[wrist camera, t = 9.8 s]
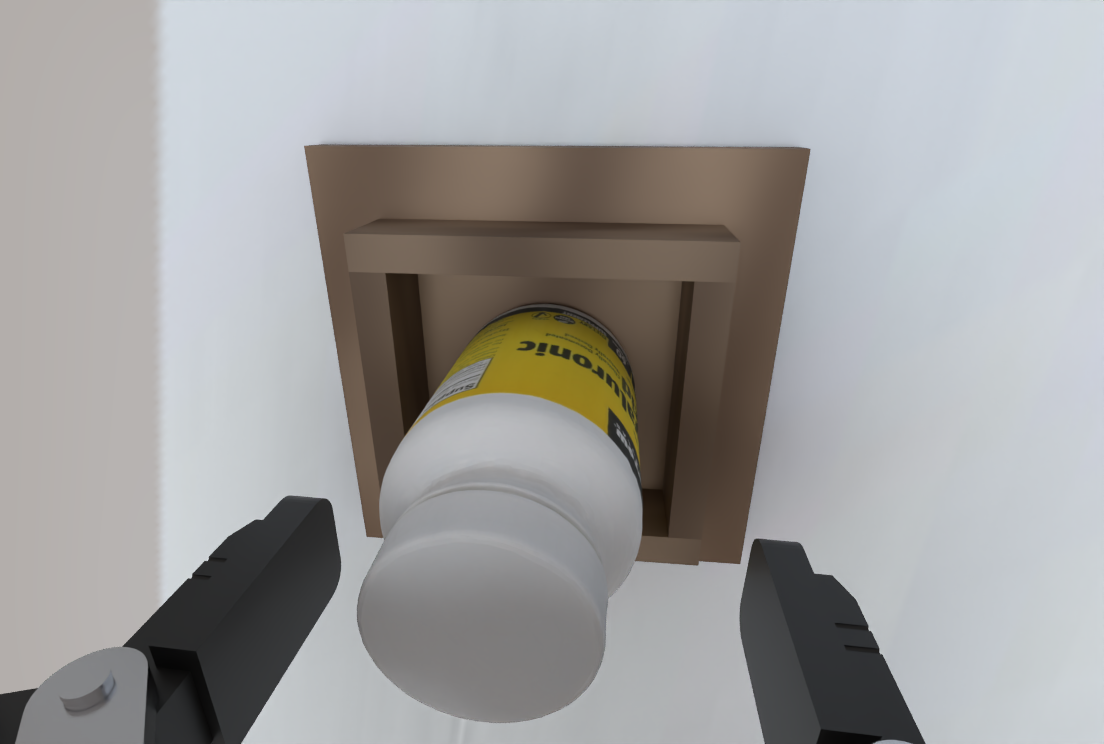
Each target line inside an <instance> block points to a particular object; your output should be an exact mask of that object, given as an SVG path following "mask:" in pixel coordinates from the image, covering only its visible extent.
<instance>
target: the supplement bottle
mask: <svg viewBox="0 0 1104 744" xmlns="http://www.w3.org/2000/svg"><path fill="white" fill-rule="evenodd" d="M642 510H643V499H642V486H641V472H640V458H639V439H638V423H637V409H636V394H635V383H634V377H633V373H632V369H631V366H630V363H629V360H628V358H627V355H626V353H625V351H624V350H623V348H622V347H621V345H620V343H619V342H618V341H617V339H616V338H615V337H614V336H613V335H612V333H611V332H610V331H609V330H608V329H606V328H605V327H604V326H603V325H602V324H601V323H599V322H598V321H596V320H595V319H593V318H592V317H590V316H588V315H586V314H584V313H582V312H580V311H578V310H575V309H572V308H569V307H565V306H560V305H554V304H533V305H527V306H522V307H518V308H515V309H512V310H510V311H507V312H505V313H503V314H501V315H499V316H497V317H496V318H494V319H493V320H491V321H490V322H489V323H487V324H486V325H485V326H484V327H483V328H482V329H481V330H480V331H479V332H478V333H477V334H476V335H475V336H474V338H473V339H472V340H471V341H470V343H469V344H468V345H467V347H466V348H465V349H464V351H463V352H462V354H461V355H460V357H459V358H458V359H457V361H456V363H455V364H454V365H453V367H452V368H451V370H450V371H449V373H448V374H447V376H446V377H445V379H444V380H443V381H442V383H441V384H440V386H439V387H438V389H437V390H436V392H435V393H434V395H433V396H432V398H431V399H430V401H429V402H428V404H427V405H426V407H425V408H424V409H423V411H422V412H421V414H420V415H419V417H418V418H417V420H416V421H415V423H414V424H413V425H412V427H411V428H410V430H409V431H408V432H407V434H406V435H405V437H404V438H403V440H402V441H401V443H400V444H399V446H398V448H397V450H396V451H395V453H394V455H393V457H392V459H391V461H390V463H389V465H388V467H387V470H386V472H385V475H384V478H383V482H382V486H381V492H380V500H379V514H380V524H381V530H382V535H383V538H384V542H383V544H382V546H381V548H380V550H379V552H378V554H377V556H376V558H375V560H374V562H373V564H372V566H371V568H370V570H369V571H368V573H367V575H366V577H365V579H364V581H363V584H362V587H361V590H360V594H359V598H358V605H357V622H358V627H359V631H360V634H361V638H362V641H363V644H364V646H365V648H366V650H367V651H368V653H369V655H370V656H371V658H372V659H373V661H374V662H375V664H376V665H377V667H378V668H379V669H380V670H381V671H382V673H383V674H384V675H385V676H386V677H387V678H388V679H389V680H390V681H391V682H393V683H394V684H395V685H396V686H397V687H398V688H400V689H401V690H402V691H403V692H405V693H406V694H408V695H409V696H411V697H412V698H414V699H416V700H417V701H419V702H421V703H423V704H425V705H427V706H430V707H432V708H434V709H436V710H438V711H441V712H444V713H447V714H450V715H453V716H456V717H459V718H464V719H469V720H474V721H481V722H490V723H510V722H520V721H527V720H532V719H536V718H540V717H543V716H546V715H548V714H551V713H553V712H556V711H558V710H560V709H562V708H564V707H565V706H567V705H569V704H570V703H571V702H573V701H574V700H576V699H577V698H578V697H579V696H580V695H581V694H582V693H583V692H584V691H585V690H586V689H587V688H588V687H589V685H590V684H591V683H592V681H593V680H594V678H595V676H596V674H597V672H598V670H599V668H600V665H601V663H602V659H603V656H604V650H605V640H606V611H607V606H608V598H609V597H611V596H612V595H613V594H614V593H615V592H616V590H617V589H618V588H619V587H620V586H621V585H622V583H623V582H624V580H625V579H626V577H627V576H628V574H629V572H630V570H631V568H632V566H633V564H634V561H635V559H636V557H637V554H638V550H639V547H640V542H641V536H642Z"/></svg>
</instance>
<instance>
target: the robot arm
mask: <svg viewBox="0 0 1104 744" xmlns="http://www.w3.org/2000/svg"><path fill="white" fill-rule="evenodd" d="M340 572H341V558H340V552H339V546H338V539H337V533H336V527H335V521H334V515H333V509H332V505H331V503H330V501H329V500H328V499H323V498H312V497H301V496H286V497H285V498H283V499H282V500H281V501H280V502H279V503H278V504H277V505H276V507H275V508H274V509H273V510H272V511H271V512H270V513H269V514H268V515H267V516H266V517H265V519H264V520H254V521H253V522H251V523H249V524H248V525H246V526H245V527H243V528H241V529H240V530H238V531H236V532H235V533H233V534H232V535H230V536H228V538H227V539H226V540H225V541H224V542H223V543H222V544H221V545H220V546H219V547H218V548H217V549H216V550H215V551H214V552H213V553H212V554H211V555H210V556H209V560H208V561H204V562H203V563H202V565H201V566H200V567H199V568H198V569H197V570H196V571H195V572H194V573H193V574H192V578H191V579H189V578H188V579H187V580H186V581H185V582H184V583H183V584H182V585H181V586H180V587H179V588H178V589H177V590H176V592H175V593H174V594H173V595H172V596H171V597H170V598H169V599H168V600H167V601H166V602H165V603H164V604H163V605H162V606H161V607H160V608H159V609H158V610H157V611H156V612H155V613H154V614H153V615H152V616H151V618H150V619H149V620H148V621H147V622H146V623H145V624H144V625H143V626H142V627H141V628H140V629H139V630H138V631H137V632H136V633H135V634H134V635H133V636H132V637H131V638H130V639H129V640H128V641H127V642H126V643H125V644H124V645H123V646H122V647H114V648H108V649H103V650H99V651H96V652H93V653H90V654H88V655H85V656H83V657H81V658H79V659H77V660H75V661H73V662H71V663H69V664H68V665H66V666H64V667H63V668H61V669H60V670H58V671H57V672H55V673H54V674H53V675H52V676H50V677H49V678H48V679H47V680H46V681H45V682H44V683H43V684H42V685H41V686H40V687H39V688H36V689H30V690H24V691H18V692H12V693H6V694H0V744H241V743H242V741H243V739H244V738H245V736H246V735H247V733H248V731H249V730H250V728H251V727H252V725H253V723H254V722H255V720H256V718H257V717H258V715H259V714H260V712H261V710H262V709H263V707H264V706H265V704H266V702H267V701H268V699H269V698H270V696H271V694H272V693H273V691H274V690H275V688H276V686H277V685H278V683H279V681H280V680H281V678H282V677H283V675H284V673H285V672H286V670H287V669H288V667H289V665H290V664H291V662H292V661H293V659H294V657H295V656H296V654H297V652H298V651H299V649H300V648H301V646H302V644H303V643H304V641H305V640H306V638H307V636H308V635H309V633H310V632H311V630H312V628H313V627H314V625H315V623H316V622H317V620H318V619H319V617H320V615H321V614H322V612H323V611H324V609H325V607H326V606H327V604H328V603H329V601H330V599H331V598H332V596H333V594H334V592H335V590H336V588H337V585H338V582H339V578H340ZM740 632H741V639H742V644H743V648H744V653H745V657H746V662H747V666H748V671H749V675H750V679H751V684H752V688H753V693H754V697H755V702H756V706H757V711H758V715H759V719H760V724H761V728H762V733H763V737H764V742H765V744H925V742H924V740H923V738H922V736H921V734H920V731H919V729H918V727H917V725H916V723H915V721H914V719H913V717H912V715H911V713H910V711H909V709H908V707H907V705H906V703H905V700H904V698H903V696H902V694H901V692H900V690H899V688H898V686H897V684H896V682H895V680H894V678H893V676H892V674H891V671H890V669H889V667H888V665H887V663H886V661H885V659H884V657H883V655H882V654H880V653H879V647H878V645H877V643H876V640H875V638H874V636H873V634H872V632H871V631H869V630H868V624H867V622H866V620H865V618H864V616H863V614H862V612H861V609H860V607H859V605H858V603H857V601H856V599H855V598H854V597H853V596H852V595H851V594H850V593H849V592H848V591H847V590H846V589H845V588H844V587H843V586H842V585H841V584H840V583H839V582H838V581H837V580H836V579H835V578H834V577H833V576H832V575H822V574H814V572H813V570H812V568H811V565H810V563H809V561H808V558H807V556H806V553H805V551H804V549H803V547H802V545H801V544H800V543H798V542H789V541H777V540H766V539H755V540H754V542H753V544H752V548H751V552H750V558H749V563H748V568H747V573H746V578H745V583H744V588H743V593H742V598H741V604H740Z"/></svg>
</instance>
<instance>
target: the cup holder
mask: <svg viewBox="0 0 1104 744" xmlns="http://www.w3.org/2000/svg"><path fill="white" fill-rule="evenodd" d="M304 148H305V154H306V160H307V167H308V173H309V179H310V185H311V192H312V198H313V204H314V210H315V217H316V223H317V229H318V235H319V242H320V248H321V254H322V260H323V267H324V273H325V279H326V285H327V292H328V298H329V304H330V310H331V317H332V323H333V329H334V335H335V342H336V348H337V354H338V360H339V367H340V373H341V379H342V385H343V392H344V398H345V404H346V410H347V417H348V423H349V429H350V435H351V442H352V448H353V454H354V460H355V467H356V473H357V479H358V485H359V492H360V498H361V504H362V510H363V517H364V523H365V529H366V535H367V537H377V538H383V535H382V530H381V524H380V514H379V500H380V492H381V486H382V482H383V478H384V475H385V472H386V470H387V467H388V465H389V463H390V461H391V459H392V457H393V455H394V453H395V451H396V450H397V448H398V446H399V444H400V443H401V441H402V440H403V438H404V437H405V435H406V434H407V432H408V431H409V430H410V428H411V427H412V425H413V424H414V423H415V421H416V420H417V418H418V417H419V415H420V414H421V412H422V411H423V409H424V408H425V407H426V405H427V404H428V402H429V401H430V399H431V398H432V396H433V395H434V393H435V392H436V390H437V389H438V387H439V386H440V384H441V383H442V381H443V380H444V379H445V377H446V376H447V374H448V373H449V371H450V370H451V368H452V367H453V365H454V364H455V363H456V361H457V359H458V358H459V357H460V355H461V354H462V352H463V351H464V349H465V348H466V347H467V345H468V344H469V343H470V341H471V340H472V339H473V338H474V336H475V335H476V334H477V333H478V332H479V331H480V330H481V329H482V328H483V327H484V326H485V325H486V324H487V323H489V322H490V321H491V320H493V319H494V318H496V317H497V316H499V315H501V314H503V313H505V312H507V311H510V310H512V309H515V308H518V307H522V306H527V305H533V304H554V305H560V306H565V307H569V308H572V309H575V310H578V311H580V312H582V313H584V314H586V315H588V316H590V317H592V318H593V319H595V320H596V321H598V322H599V323H601V324H602V325H603V326H604V327H605V328H606V329H608V330H609V331H610V332H611V333H612V335H613V336H614V337H615V338H616V339H617V341H618V342H619V343H620V345H621V347H622V348H623V350H624V351H625V353H626V355H627V358H628V360H629V363H630V366H631V369H632V373H633V377H634V383H635V394H636V409H637V423H638V439H639V458H640V472H641V486H642V499H643V510H642V536H641V542H640V547H639V550H638V554H637V557H636V559H635V561H644V562H657V563H671V564H685V565H698V563H699V561H705V562H719V563H733V564H740V561H741V556H742V550H743V544H744V538H745V532H746V526H747V520H748V514H749V508H750V503H751V497H752V491H753V485H754V479H755V473H756V467H757V461H758V455H759V450H760V444H761V438H762V432H763V426H764V420H765V414H766V408H767V402H768V397H769V391H770V385H771V379H772V373H773V367H774V361H775V355H776V349H777V344H778V338H779V332H780V326H781V320H782V314H783V308H784V302H785V296H786V290H787V285H788V279H789V273H790V267H791V261H792V255H793V249H794V243H795V237H796V232H797V226H798V220H799V214H800V208H801V202H802V196H803V190H804V184H805V179H806V173H807V167H808V161H809V155H810V149H807V148H801V147H653V146H482V145H309V146H304Z"/></svg>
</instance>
